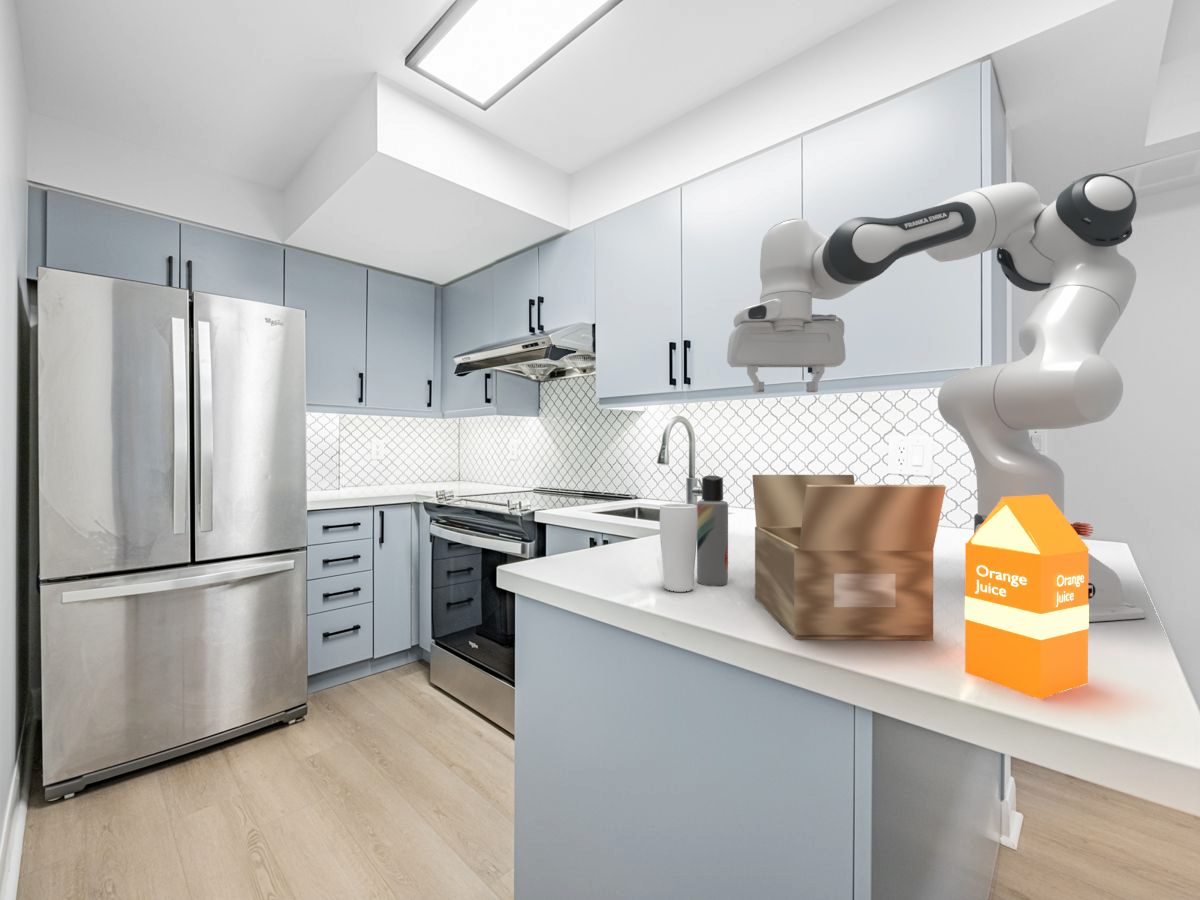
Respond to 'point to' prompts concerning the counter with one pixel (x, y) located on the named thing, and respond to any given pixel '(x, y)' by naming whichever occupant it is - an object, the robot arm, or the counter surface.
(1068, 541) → the orange juice
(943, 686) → the counter surface
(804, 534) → the near flap
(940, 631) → the counter surface
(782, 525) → the far flap
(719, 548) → the lotion bottle
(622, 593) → the counter surface
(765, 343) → the robot arm
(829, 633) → the carton
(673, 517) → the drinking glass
